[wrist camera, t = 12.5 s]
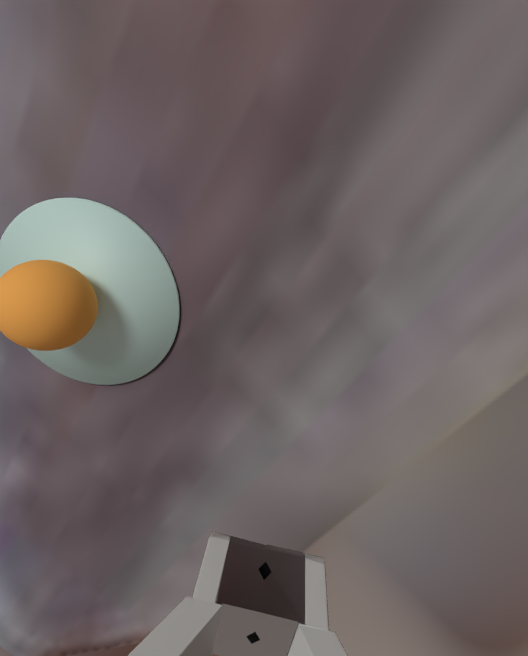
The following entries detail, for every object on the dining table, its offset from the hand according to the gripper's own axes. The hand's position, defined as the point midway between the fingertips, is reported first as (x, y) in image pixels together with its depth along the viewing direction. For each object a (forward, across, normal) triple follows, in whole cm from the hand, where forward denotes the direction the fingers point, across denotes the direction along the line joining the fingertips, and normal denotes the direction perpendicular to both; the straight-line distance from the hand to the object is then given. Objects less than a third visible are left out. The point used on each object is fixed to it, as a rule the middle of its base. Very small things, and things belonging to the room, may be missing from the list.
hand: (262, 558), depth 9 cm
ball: (+12, +15, 0) cm, 19 cm away
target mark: (+15, +14, 0) cm, 21 cm away
